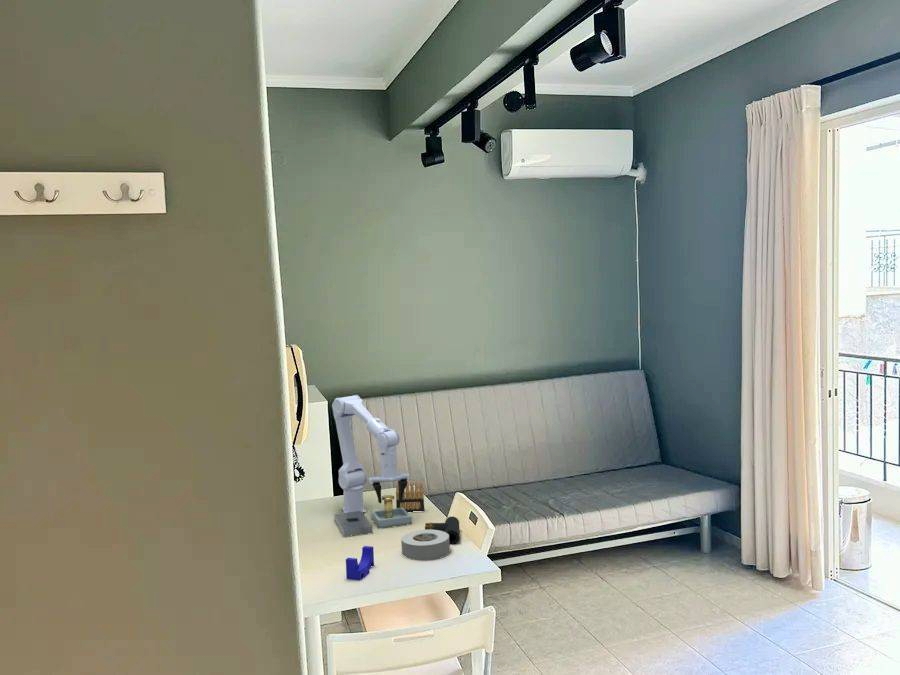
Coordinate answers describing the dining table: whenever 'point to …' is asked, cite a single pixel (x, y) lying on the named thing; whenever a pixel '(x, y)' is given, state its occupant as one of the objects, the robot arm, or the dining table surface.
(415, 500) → the ammunition clip
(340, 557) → the dining table surface
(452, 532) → the black power drill
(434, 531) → the tape roll
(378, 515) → the tray
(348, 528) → the metal plate with hole
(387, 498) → the gold flared cylinder
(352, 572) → the cable clip
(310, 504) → the dining table surface
